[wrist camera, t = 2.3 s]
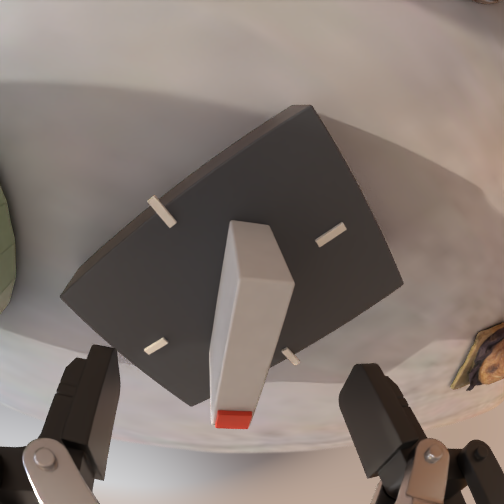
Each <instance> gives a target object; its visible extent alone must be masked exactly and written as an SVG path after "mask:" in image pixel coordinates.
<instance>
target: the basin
mask: <svg viewBox="0 0 504 504" xmlns="http://www.w3.org/2000/svg"><path fill="white" fill-rule="evenodd" d="M6 202H7V201H6V198H5V196H4V193H3V191H2V188H1V186H0V314H1V313H2V312H3V310H4V309H5V308H6V306H7V305H8V304H9V303H10V299H11V295H12V291H13V286H14V283H15V279H16V255H15V238H14V233H13V229H12V225H11V220H10V215H9V210H8V204H7V203H6Z"/></svg>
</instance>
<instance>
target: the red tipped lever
mask: <svg viewBox="0 0 504 504" xmlns="http://www.w3.org/2000/svg"><path fill="white" fill-rule="evenodd" d="M294 286H295V283H294V280H293V278H292V276H291V273H290V271H289V269H288V267H287V264H286V262H285V260H284V257H283V255H282V253H281V251H280V248H279V246H278V244H277V242H276V239H275V237H274V235H273V233H272V230H271V228H270V226H269V225H264V224H257V223H249V222H242V221H235V220H231V221H230V224H229V230H228V236H227V242H226V248H225V254H224V260H223V266H222V272H221V278H220V285H219V291H218V297H217V304H216V310H215V317H214V323H213V330H212V337H211V344H210V350H209V366H210V407H211V424H212V425H215V427H216V428H226V429H248V427H249V426H250V424H251V421H252V418H253V415H254V412H255V409H256V406H257V403H258V401H259V398H260V395H261V392H262V389H263V386H264V383H265V380H266V377H267V373H268V370H269V367H270V364H271V361H272V358H273V355H274V352H275V349H276V345H277V342H278V339H279V336H280V333H281V329H282V326H283V323H284V319H285V316H286V313H287V309H288V306H289V303H290V299H291V296H292V293H293V289H294Z"/></svg>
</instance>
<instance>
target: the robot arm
mask: <svg viewBox="0 0 504 504" xmlns="http://www.w3.org/2000/svg"><path fill="white" fill-rule="evenodd" d="M472 1H475V2H477V3H481V4H493V3H499V2H503V1H504V0H472ZM119 395H120V374H119V366H118V357H117V350H116V348H112V347H106V346H100V345H92V347H91V349H90V352H89V354H88V357H87V359H82V358H75V359H74V360H73V361H72V362H71V363H70V364H69V365H68V366H67V367H66V369H65V371H64V373H63V376H62V378H61V383H59V386H58V388H57V393H56V394H55V396H54V399H53V402H52V404H51V407H50V410H49V412H48V415H47V418H46V421H45V424H44V427H43V430H42V432H41V434H40V436H39V437H38V439H35V440H33V441H31V442H30V443H29V444H28V445H27V446H24V447H0V504H100V503H99V502H98V500H97V499H96V497H95V496H94V494H93V493H92V489H93V483H94V479H99V480H103V481H104V477H105V470H106V464H107V458H108V452H109V446H110V441H111V435H112V430H113V425H114V420H115V415H116V410H117V405H118V401H119ZM339 407H340V409H341V412H342V414H343V417H344V420H345V422H346V425H347V427H348V430H349V432H350V435H351V437H352V440H353V442H354V445H355V447H356V450H357V453H358V455H359V458H360V460H361V463H362V466H363V468H364V471H365V473H366V476H367V478H372V477H376V476H380V479H381V481H380V482H379V483H378V485H377V487H376V490H375V493H374V495H373V498H372V501H371V503H370V504H466V503H465V500H464V498H463V496H462V493H461V490H462V489H463V488H464V487H466V486H467V485H468V486H469V488H470V491H471V493H472V495H473V497H474V500H475V502H476V504H504V473H503V471H502V469H501V467H500V465H499V464H498V462H497V460H496V458H495V456H494V454H493V453H492V451H491V449H490V447H489V446H488V445H487V444H486V443H484V442H483V441H480V440H472V441H470V442H469V443H468V444H467V445H466V446H465V447H464V448H463V449H447V448H446V446H445V445H444V444H443V443H442V442H440V441H438V440H436V439H433V438H427V437H426V435H425V433H424V431H423V430H422V428H421V426H420V424H419V422H418V421H417V419H416V417H415V415H414V413H413V412H412V410H411V408H410V407H408V403H407V401H406V399H405V398H403V394H402V392H401V391H400V389H399V387H398V386H397V385H396V384H395V383H394V382H393V381H392V380H391V379H390V378H389V377H388V376H385V375H384V373H383V372H382V370H381V368H380V367H379V365H378V364H376V363H370V364H356V365H355V366H354V367H353V369H352V371H351V373H350V375H349V377H348V379H347V380H346V382H345V384H344V386H343V388H342V390H341V391H340V394H339Z"/></svg>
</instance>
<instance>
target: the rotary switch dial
mask: <svg viewBox="0 0 504 504" xmlns="http://www.w3.org/2000/svg"><path fill="white" fill-rule="evenodd" d="M147 202H148V203H149V204H150V205H151V206H150V207H149V208H147V209H146V210H145V211H144V212H142V213H141V214H140V215H139V216H138V217H136V218H135V219H134V220H133V221H132V222H130V223H129V224H128V225H127V226H126V227H125V228H123V229H122V230H121V231H120V232H119V233H117V234H116V235H115V236H114V237H113V238H112V239H111V240H109V241H108V242H107V243H106V244H105V245H104V246H103V247H102V248H100V249H99V250H98V251H97V252H96V253H95V254H94V255H93V256H92V257H90V258H89V259H88V260H87V261H86V262H85V263H84V264H83V265H82V266H81V267H80V268H79V269H78V270H77V272H76V273H75V275H74V276H73V277H72V279H71V280H70V282H69V283H68V285H67V286H66V288H65V289H64V291H63V292H62V294H61V295H60V298H61V299H62V300H63V301H64V302H65V303H66V304H67V305H68V306H69V307H70V308H71V309H72V310H73V311H74V312H75V313H76V314H77V315H78V316H79V317H80V318H81V319H82V320H83V321H84V322H86V323H87V324H88V325H89V326H90V327H91V328H92V329H93V330H94V331H95V332H96V333H98V334H99V335H100V336H101V337H102V338H103V339H104V340H105V341H107V342H108V343H109V344H110V345H111V346H112V347H114V348H116V350H117V351H118V352H119V353H121V354H122V355H123V356H124V357H125V358H127V359H128V360H129V361H130V362H132V363H133V364H134V365H135V366H136V367H138V368H139V369H140V370H142V371H143V372H144V373H145V374H147V375H148V376H149V377H151V378H152V379H153V380H154V381H156V382H157V383H158V384H160V385H161V386H162V387H164V388H165V389H167V390H168V391H169V392H171V393H172V394H173V395H175V396H176V397H178V398H179V399H181V400H182V401H183V402H185V403H186V404H188V405H189V406H191V407H192V406H194V405H196V404H198V403H201V402H203V401H205V400H207V399H209V398H210V366H209V350H210V344H211V337H212V330H213V323H214V317H215V310H216V304H217V297H218V291H219V285H220V278H221V272H222V266H223V260H224V254H225V248H226V242H227V236H228V230H229V224H230V221H231V220H235V221H242V222H249V223H257V224H264V225H269V226H270V228H271V230H272V233H273V235H274V237H275V239H276V242H277V244H278V246H279V248H280V251H281V253H282V255H283V257H284V260H285V262H286V264H287V267H288V269H289V271H290V273H291V276H292V278H293V280H294V283H295V286H294V289H293V293H292V296H291V299H290V303H289V306H288V309H287V313H286V316H285V319H284V323H283V326H282V329H281V333H280V336H279V339H278V342H277V345H276V349H275V352H274V355H273V358H272V361H271V364H270V367H272V366H274V365H276V364H278V363H280V362H281V361H283V360H285V359H287V358H288V359H289V360H290V361H291V362H292V363H293V364H294V365H297V364H299V363H300V360H299V359H298V358H297V357H296V356H295V355H294V354H296V353H297V352H299V351H301V350H303V349H304V348H306V347H308V346H309V345H311V344H313V343H315V342H316V341H318V340H320V339H321V338H323V337H325V336H326V335H328V334H329V333H331V332H333V331H334V330H336V329H338V328H339V327H341V326H342V325H344V324H346V323H347V322H349V321H350V320H352V319H353V318H355V317H356V316H358V315H360V314H361V313H363V312H364V311H366V310H367V309H369V308H370V307H372V306H373V305H375V304H376V303H378V302H379V301H381V300H382V299H383V298H385V297H386V296H388V295H389V294H391V293H392V292H394V291H395V290H396V289H398V288H399V287H401V286H402V285H403V284H404V283H403V280H402V278H401V275H400V273H399V271H398V268H397V266H396V264H395V261H394V259H393V257H392V254H391V252H390V250H389V248H388V245H387V243H386V241H385V239H384V237H383V235H382V232H381V230H380V228H379V226H378V224H377V222H376V220H375V218H374V216H373V214H372V212H371V210H370V208H369V206H368V204H367V202H366V200H365V198H364V196H363V194H362V192H361V190H360V188H359V186H358V184H357V182H356V180H355V178H354V177H353V175H352V173H351V171H350V169H349V167H348V166H347V164H346V162H345V160H344V158H343V157H342V155H341V153H340V151H339V149H338V148H337V146H336V144H335V143H334V141H333V139H332V137H331V136H330V134H329V132H328V131H327V129H326V127H325V126H324V124H323V122H322V121H321V119H320V118H319V116H318V114H317V113H316V111H315V110H314V108H313V106H311V105H292V106H290V107H289V108H287V109H285V110H284V111H282V112H281V113H279V114H278V115H276V116H274V117H273V118H271V119H270V120H268V121H267V122H265V123H264V124H262V125H261V126H259V127H258V128H256V129H254V130H253V131H251V132H250V133H249V134H247V135H246V136H244V137H243V138H241V139H240V140H238V141H237V142H235V143H234V144H232V145H231V146H230V147H228V148H227V149H225V150H224V151H222V152H221V153H220V154H218V155H217V156H215V157H214V158H213V159H211V160H210V161H208V162H207V163H206V164H204V165H203V166H202V167H200V168H199V169H198V170H196V171H195V172H194V173H192V174H191V175H190V176H188V177H187V178H186V179H184V180H183V181H182V182H180V183H179V184H178V185H176V186H175V187H174V188H173V189H171V190H170V191H169V192H167V193H166V194H165V195H164V196H162V197H161V198H160V199H159V200H158V198H157V197H156V196H155V195H154V196H152V197H151V198H150V199H149V200H148V201H147ZM270 367H269V368H270Z"/></svg>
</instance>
